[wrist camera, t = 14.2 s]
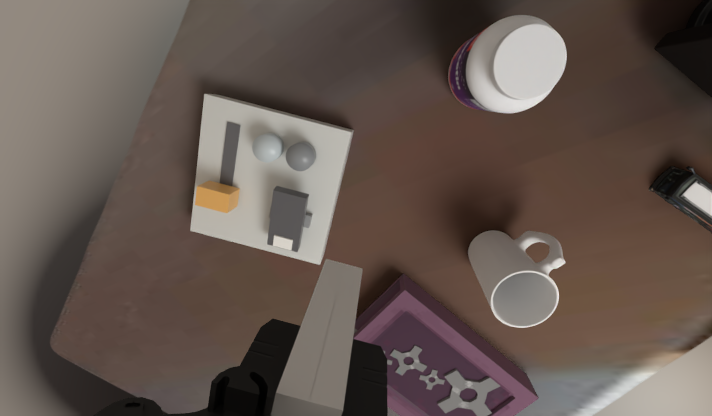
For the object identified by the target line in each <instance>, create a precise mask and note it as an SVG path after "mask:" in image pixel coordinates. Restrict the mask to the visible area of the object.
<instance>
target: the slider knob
mask: <svg viewBox="0 0 712 416" xmlns="http://www.w3.org/2000/svg"><path fill="white" fill-rule="evenodd" d="M239 191H240V188H236V187H232V186H229V185H225V184H221V183H217V182H213V181H210V180H209V181H207V182H205V183H203V184H200V185H198V186H197V190H196V200H195V205H197V206H201V207H205V208H208V209H212V210H216V211H220V212H224V213H228V212H230V211H231V210H233V209H234V208H235V207H237V205H238V198H239Z"/></svg>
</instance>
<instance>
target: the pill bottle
mask: <svg viewBox="0 0 712 416" xmlns="http://www.w3.org/2000/svg"><path fill="white" fill-rule="evenodd" d="M566 59H567V52H566V47H565V44H564V41H563V39H562V37H561V36H560V35H559V34H558V33H557V32H556V31H555V30H554V29H553V28H552V27H551V26H550V25H549V24H548V23H546V22H545V21H543V20H542V19H539V18H537V17H533V16H528V15H515V16H510V17H506V18H504V19H501V20H499V21H497V22H495V23H494V24H492V25H490V26H489V27H487V28H486V29H484V30H483V31H481V32H480V33H478V34H477V35H475V36H474V37H472V38H471V39H469V40H468V41H466V42H465V43H464V44H463V45H462V46H461V47H460V48H459V49H458V50H457V51H456V53H455V54H454V56H453V58H452V60H451V63H450V66H449V73H448V80H449V85H450V88H451V91H452V93H453V94H454V96H455V97H456V99H457V100H458V101H459V102H461V103H462V104H463V105H465V106H467V107H470V108H473V109H480V110H486V111H493V112H499V113H516V112H521V111H524V110H526V109H529V108H531V107H533V106H535V105H536V104H538V103H539V102H540V101H542V100H543V99H544V98H545V97H546V96H547V95H548V94H549V93H550V91H551V90H552V89H553V87H554V86H555V84H556V83H557V82H558V81H559V79H560V78H561V76H562V74H563V72H564V69H565V65H566Z"/></svg>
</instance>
